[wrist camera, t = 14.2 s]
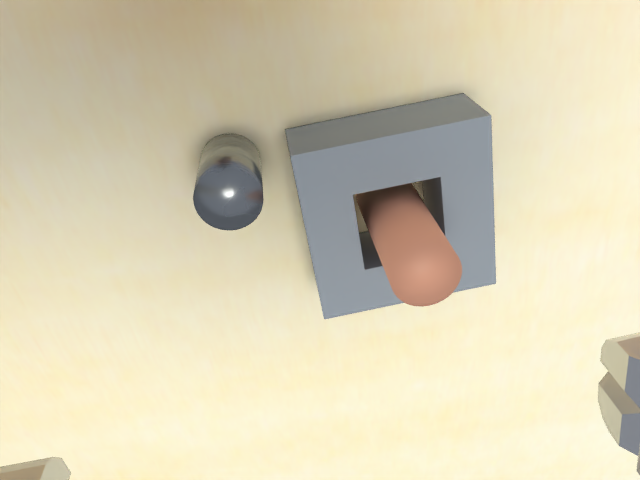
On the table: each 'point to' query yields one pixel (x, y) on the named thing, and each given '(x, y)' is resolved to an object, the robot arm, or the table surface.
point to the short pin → (229, 183)
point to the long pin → (410, 245)
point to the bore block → (387, 171)
